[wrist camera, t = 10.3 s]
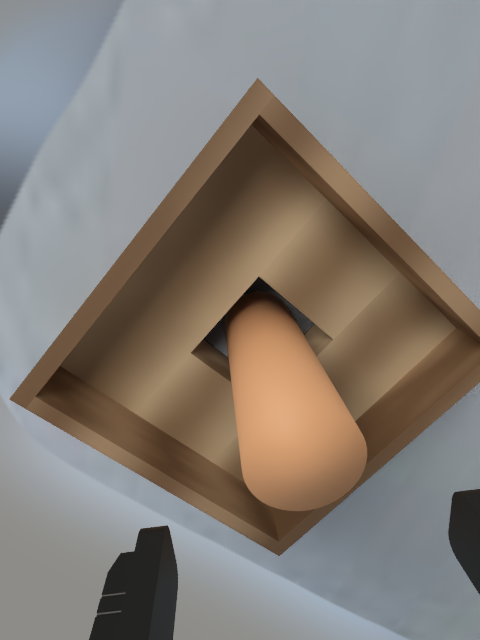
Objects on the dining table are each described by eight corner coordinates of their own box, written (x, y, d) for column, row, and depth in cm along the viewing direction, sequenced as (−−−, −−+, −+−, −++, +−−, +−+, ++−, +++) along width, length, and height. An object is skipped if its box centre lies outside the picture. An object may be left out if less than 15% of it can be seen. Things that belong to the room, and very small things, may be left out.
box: (445, 307, 24) (517, 349, 18) (264, 478, 28) (279, 556, 22) (243, 105, 19) (257, 78, 14) (57, 343, 23) (9, 399, 17)
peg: (304, 319, 24) (392, 453, 12) (260, 365, 24) (305, 528, 13) (255, 277, 22) (304, 384, 11) (211, 327, 23) (215, 472, 12)
